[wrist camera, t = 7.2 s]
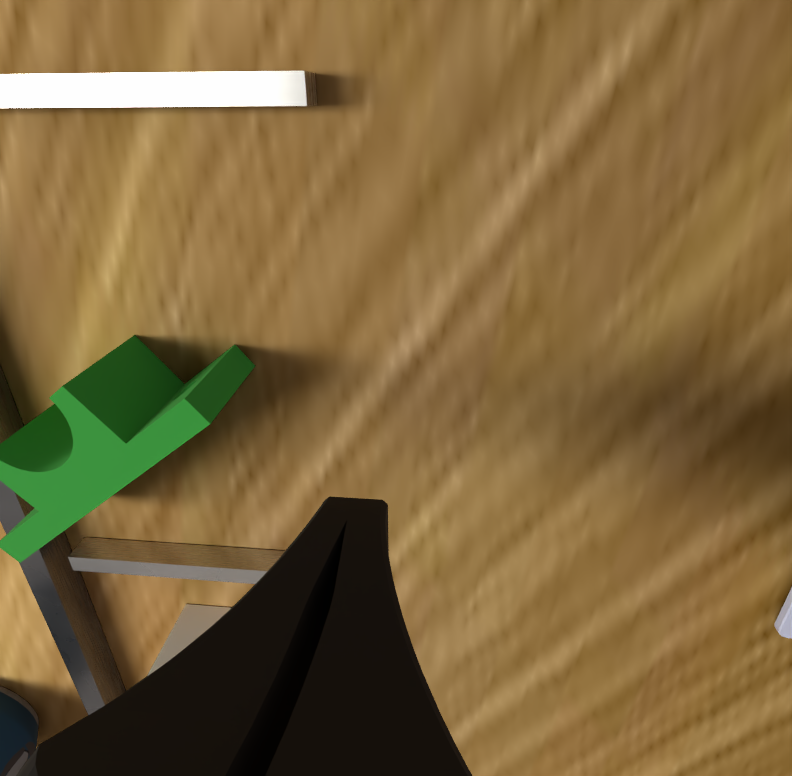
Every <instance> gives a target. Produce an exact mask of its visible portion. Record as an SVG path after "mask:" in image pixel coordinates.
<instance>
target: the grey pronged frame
mask: <svg viewBox="0 0 792 776" xmlns="http://www.w3.org/2000/svg"><path fill="white" fill-rule="evenodd" d="M235 106H317V95H316V80H315V73H312V72H308V71H240V72H158V73H77V74H0V108H79V107H235ZM23 427H24V426H23V423H22V421H21V418H20V416H19V413H18V410H17V408H16V405H15V403H14V400H13V397H12V395H11V392H10V390H9V387H8V385H7V382H6V379H5V377H4V374H3V372H2V369H1V366H0V444H1V443H2V442H4V441H5V440H6V439H8V438H9V437H10V436H12V435H13V434H14V433H16V432H17V431H18V430H20V429H21V428H23ZM33 509H34V507H33V506H32V505H30V504H29V503H28V502H27V501H25V500H24V499H23V498H22V497H20V496H19V495H18V494H17V493H15V492H14V491H13V490H12V489H10V488H9V487H8V486H7V485H5V484H4V483H3V482H2V481H0V521H1V523H2V526H3V528H4V530H5V532H6V534H8V533H9V532H10V531H11V530H12V529H13V528H14V527H15V526H16V525H17V524H18V523H19V522H20V521H21V520H22V519H24V518H25V517H26V516H27V515H28V514H29V513H30V512H31V511H32V510H33ZM284 552H285V551H278V550H264V549H249V548H234V547H219V546H205V545H190V544H175V543H161V542H146V541H131V540H117V539H102V538H87V537H85V538H84V539H83V540H82V541H81V542H80V543H79V545H78V546H77V547H76V548H75V549H74V550H73V552H72V550H71V548H70V545H69V543H68V540H67V537H66V535H65V532H64V531H63V532H62V533H60V534H59V535H58V536H56V537H55V538H54V539H52V540H51V541H49V542H48V543H47V544H45V545H44V546H43V547H41V548H40V549H38V550H37V551H36V552H34V553H33V554H32V555H30V556H29V557H28V558H26V559H25V560H23V561H22V562H21V563H20V562H19V563H20V565H21V568H22V570H23V572H24V574H25V576H26V579H27V581H28V583H29V585H30V587H31V590H32V592H33V594H34V596H35V598H36V601H37V603H38V605H39V607H40V609H41V612H42V614H43V616H44V618H45V620H46V623H47V625H48V627H49V629H50V631H51V634H52V636H53V638H54V640H55V643H56V645H57V647H58V649H59V651H60V654H61V656H62V658H63V660H64V662H65V665H66V667H67V669H68V671H69V673H70V676H71V678H72V680H73V682H74V684H75V687H76V689H77V691H78V693H79V695H80V698H81V700H82V702H83V704H84V706H85V709H86V711H87V713H88V715H90V714H92V713H93V712H95V711H97V710H98V709H100V708H101V707H103V706H105V705H106V704H108V703H109V702H111V701H112V700H114V699H115V698H117V697H118V696H120V695H121V694H123V693H124V692H126V690H125V688H124V685H123V682H122V680H121V677H120V675H119V672H118V669H117V667H116V664H115V662H114V659H113V657H112V654H111V651H110V649H109V646H108V644H107V641H106V638H105V636H104V633H103V631H102V628H101V625H100V623H99V620H98V618H97V615H96V612H95V610H94V607H93V605H92V602H91V600H90V597H89V594H88V592H87V589H86V587H85V584H84V581H83V579H82V576H81V574H80V571H88V572H101V573H115V574H128V575H142V576H155V577H169V578H182V579H196V580H209V581H223V582H236V583H250V584H256V583H257V582H258V581H259V580H260V579H261V578H262V577H263V576H264V574H265V573H266V572H267V571H268V570H269V569H270V568H271V567H272V566H273V565H274V564H275V563H276V561H277V560H278V559H279V558H280V557H281V556H282V554H283V553H284Z"/></svg>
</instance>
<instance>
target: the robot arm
mask: <svg viewBox="0 0 792 776" xmlns="http://www.w3.org/2000/svg"><path fill="white" fill-rule="evenodd" d="M775 627H776V629H777V631H778V632H779V634H780V635H781V636H783V637H786V638H792V588H791V590H790V592H789V594H788V596H787V599H786V601H785V603H784V605H783V607H782V609H781V611H780V613H779V615H778V618H777V620H776V622H775ZM16 776H472V774H471V773H470V771H469V769H468V767H467V765H466V763H465V762H464V760H463V758H462V756H461V754H460V752H459V750H458V748H457V746H456V744H455V743H454V740H453V738H452V736H451V734H450V732H449V730H448V728H447V726H446V724H445V722H444V720H443V718H442V716H441V714H440V712H439V709H438V707H437V705H436V702H435V700H434V698H433V696H432V693H431V691H430V689H429V686H428V684H427V682H426V679H425V677H424V675H423V672H422V670H421V667H420V665H419V662H418V659H417V657H416V654H415V652H414V649H413V646H412V643H411V640H410V637H409V634H408V631H407V629H406V625H405V622H404V619H403V616H402V612H401V609H400V605H399V601H398V598H397V594H396V590H395V586H394V582H393V577H392V572H391V567H390V561H389V555H388V504H387V503H386V502H384V501H383V500H375V499H359V498H343V497H328V498H327V499H326V500H325V501H324V502H323V504H322V505H321V507H320V508H319V509H318V511H317V512H316V513H315V515H314V516H313V517H312V519H311V520H310V521H309V523H308V524H307V525H306V527H305V528H304V529H303V530H302V532H301V533H300V534H299V535H298V537H297V538H296V539H295V540H294V541H293V543H292V544H291V545H290V546H289V547H288V549H287V550H286V551H285V552H284V553H283V554H282V556H281V557H280V558H279V559H278V560H277V561H276V563H275V564H274V565H273V566H272V567H271V568H270V569H269V570H268V571H267V572H266V573H265V574H264V576H263V577H262V578H261V579H260V580H259V581H258V582H257V583H256V584H255V585H254V586H253V587H252V588H251V589H250V590H249V591H248V592H247V593H246V594H245V595H244V596H243V597H242V598H241V599H240V600H239V601H238V602H237V603H236V604H235V605H234V606H233V607H232V608H231V609H230V610H229V611H228V612H227V613H225V614H224V615H223V616H222V617H221V618H220V619H219V620H218V621H217V622H215V623H214V624H213V625H212V626H211V627H210V628H209V629H207V630H206V631H205V632H204V633H203V634H201V635H200V636H199V637H198V638H197V639H195V640H194V641H193V642H192V643H191V644H189V645H188V646H187V647H186V648H184V649H183V650H182V651H181V652H179V653H178V654H177V655H176V656H174V657H173V658H172V659H170V660H169V661H168V662H166V663H165V664H164V665H162V666H161V667H160V668H158V669H157V670H155V671H154V672H153V673H151V674H150V675H148V676H147V677H145V678H144V679H143V680H141V681H140V682H138V683H137V684H136V685H134V686H133V687H131V688H130V689H128V690H127V691H126V692H124V693H123V694H121V695H120V696H118V697H117V698H115V699H114V700H112V701H111V702H109V703H108V704H106V705H105V706H103V707H101V708H100V709H98V710H97V711H95V712H93V713H92V714H90V715H88V716H87V717H85V718H83V719H82V720H80V721H78V722H77V723H75V724H73V725H72V726H70V727H68V728H67V729H65V730H63V731H62V732H60V733H58V734H57V735H55V736H53V737H51V738H50V739H48V740H46V741H44V742H43V743H41V744H40V745H39V746H38V747H37V749H36V750H35V751H34V753H33V754H32V755H31V757H30V758H29V759H28V761H27V762H26V763H25V764H24V766H23V767H22V768H21V770H20V771H19V772H18V774H17V775H16Z"/></svg>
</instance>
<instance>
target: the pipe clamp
mask: <svg viewBox="0 0 792 776" xmlns="http://www.w3.org/2000/svg"><path fill="white" fill-rule="evenodd" d="M254 367H255V365H254V364H253V363H252V362H251V361H250V360H249V359H248V358H247V356H246V355H245V354H244V353H243V352H242V351H241V350H240V349H239V348H238V347H237V346H236V345H234V346H232V347H231V348H230V349H228V350H227V351H226V352H225V353H223V354H222V355H221V356H220V357H218V358H217V359H216V360H215V361H213V362H212V363H211V364H209V365H208V366H207V367H206V368H204V369H203V370H202V371H201V372H199V373H198V374H197V375H196V376H194V377H193V378H192V379H190V380H189V381H188V382H187V383H185V384H184V383H183V382H182V381H181V380H180V379H179V378H178V377H177V376H176V375H175V374H174V373H173V372H172V371H171V370H170V369H169V368H168V367H167V366H166V365H165V364H164V363H163V362H162V361H161V360H160V359H159V358H158V357H157V356H156V355H155V354H154V353H153V352H152V351H151V350H150V349H149V348H148V347H147V346H146V345H145V344H144V343H143V342H141V341H140V340H139V339H138V338H137V337H136V336H135V335H134V336H133V337H131V338H130V339H128V340H127V341H126V342H124V343H123V344H121V345H120V346H119V347H117V348H116V349H114V350H113V351H111V352H110V353H109V354H107V355H106V356H104V357H103V358H102V359H100V360H99V361H97V362H96V363H94V364H93V365H92V366H90V367H89V368H87V369H86V370H85V371H83V372H82V373H80V374H79V375H78V376H76V377H75V378H73V379H72V380H70V381H69V382H68V383H66V384H65V385H63V386H62V387H61V388H60V389H59V390H58V391H57V392H55V393H54V394H53V395H52V396H51V397H50V399H51V400H52V401H53V402H54V403H55V404H54V405H52V406H51V407H50V408H48V409H47V410H46V411H44V412H43V413H41V414H40V415H39V416H37V417H36V418H35V419H33V420H32V421H31V422H29V423H28V424H27V425H25V426H24V427H23V428H21V429H20V430H18V431H17V432H16V433H14V434H13V435H12V436H10V437H9V438H8V439H6V440H5V441H4V442H2V443H1V444H0V481H2V482H3V483H4V484H5V485H7V486H8V487H9V488H10V489H12V490H13V491H14V492H15V493H17V494H18V495H19V496H20V497H22V498H23V499H24V500H25V501H27V502H28V503H29V504H30V505H32V506H33V507H34V509H33V510H32V511H31V512H30V513H29V514H28V515H27V516H26V517H25V518H24V519H22V520H21V521H20V522H19V523H18V524H17V525H16V526H15V527H14V528H13V529H12V530H11V531H10V532H9V533H8V534H7V535H6V536H5V537H4V538H2V539H1V540H0V548H1V549H3V550H4V551H5V552H7V553H8V554H9V555H11V556H12V557H13V558H15V559H16V560H17V561H19V562H20V563H21V562H22V561H23V560H25V559H26V558H28V557H29V556H30V555H32V554H33V553H34V552H36V551H37V550H38V549H40V548H41V547H43V546H44V545H45V544H47V543H48V542H49V541H51V540H52V539H54V538H55V537H56V536H58V535H59V534H60V533H62V532H63V531H65V530H66V529H67V528H69V527H70V526H71V525H73V524H74V523H75V522H77V521H78V520H80V519H81V518H82V517H84V516H85V515H86V514H88V513H89V512H91V511H92V510H93V509H95V508H96V507H97V506H99V505H100V504H102V503H103V502H104V501H106V500H107V499H108V498H110V497H111V496H112V495H114V494H115V493H117V492H118V491H119V490H121V489H122V488H123V487H125V486H126V485H128V484H129V483H130V482H132V481H133V480H134V479H136V478H137V477H139V476H140V475H141V474H143V473H144V472H145V471H147V470H148V469H149V468H151V467H152V466H154V465H155V464H156V463H158V462H159V461H160V460H162V459H163V458H165V457H166V456H167V455H169V454H170V453H171V452H173V451H174V450H176V449H177V448H178V447H180V446H181V445H182V444H184V443H185V442H186V441H188V440H189V439H191V438H192V437H193V436H195V435H196V434H197V433H199V432H200V431H202V430H203V429H204V428H206V427H207V426H208V425H210V424H211V423H212V421H213V420H214V419H215V417H216V416H217V415H218V414H219V412H220V411H221V410H222V408H223V407H224V406H225V405H226V403H227V402H228V401H229V399H230V398H231V397H232V396H233V394H234V393H235V392H236V390H237V389H238V388H239V386H240V385H241V384H242V383H243V381H244V380H245V379H246V377H247V376H248V375H249V374H250V372H251V371H252V370H253V368H254Z"/></svg>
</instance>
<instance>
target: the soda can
mask: <svg viewBox="0 0 792 776" xmlns="http://www.w3.org/2000/svg"><path fill="white" fill-rule="evenodd" d="M38 727H39V719H38V716H37V714H36V712H35V710H34V709H33V708H32V707H31V706H30V704H28V703H27V702H26V701H25V700H24V699H23V698H21V697H20V696H18V695H17V694H15V693H14V692H12V691H10V690H8V689H6V688H4V687H1V686H0V776H16V775H17V774H18V772H19V771H20V770H21V768H22V767H23V766H24V764H25V763H26V762H27V761H28V759H29V758H30V757H31V755H32V754H33V753H34V751H35V750H36V745H37V737H38Z"/></svg>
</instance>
